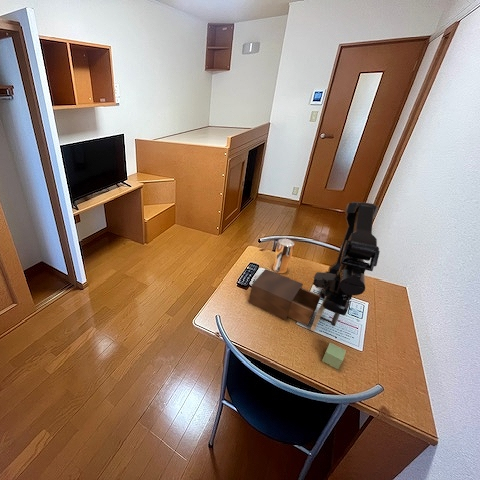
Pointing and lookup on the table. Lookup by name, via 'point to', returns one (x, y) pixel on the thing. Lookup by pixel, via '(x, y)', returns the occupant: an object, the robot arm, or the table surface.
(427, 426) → the table surface
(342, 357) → the block
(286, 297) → the cabinet
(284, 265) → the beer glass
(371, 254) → the robot arm
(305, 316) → the drawer
